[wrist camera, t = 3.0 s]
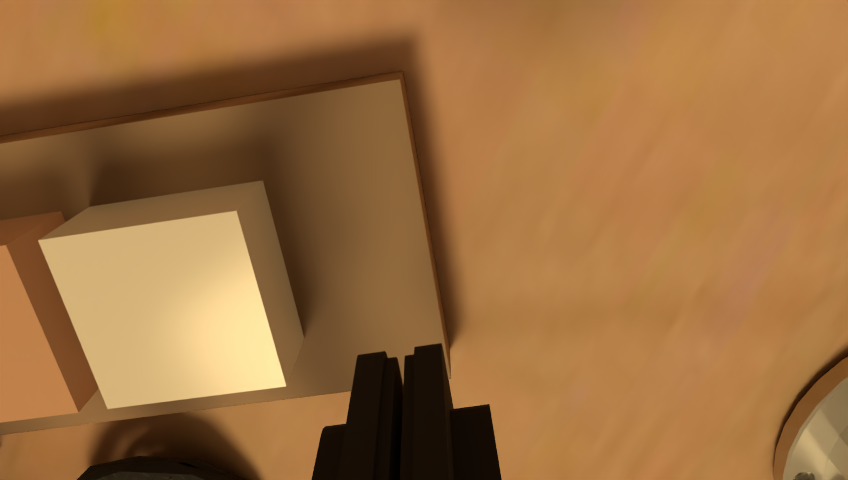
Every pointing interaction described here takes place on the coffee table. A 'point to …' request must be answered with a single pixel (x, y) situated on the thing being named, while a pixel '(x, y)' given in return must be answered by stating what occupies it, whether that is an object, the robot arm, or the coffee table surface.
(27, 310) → the terracotta tile
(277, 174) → the walnut board
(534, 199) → the coffee table surface
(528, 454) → the coffee table surface
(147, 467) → the hairbrush
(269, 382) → the cream tile
